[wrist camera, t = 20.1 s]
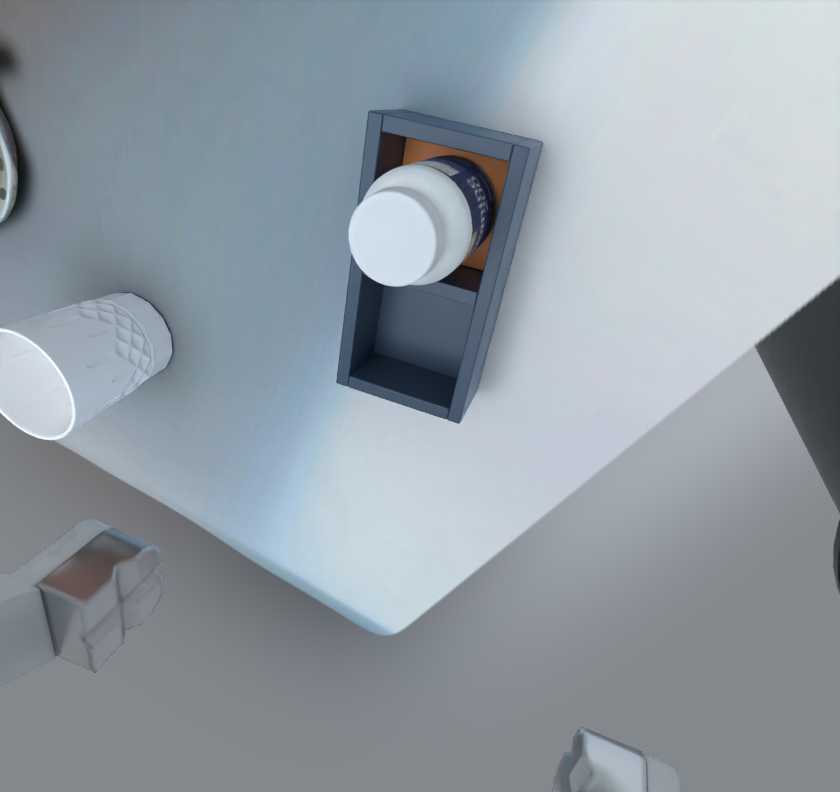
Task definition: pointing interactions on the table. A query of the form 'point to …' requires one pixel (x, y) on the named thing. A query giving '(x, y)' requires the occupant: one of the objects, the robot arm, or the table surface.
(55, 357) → the white cup
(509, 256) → the divided storage box
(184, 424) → the table surface
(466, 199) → the pill bottle
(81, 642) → the robot arm
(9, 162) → the avocado toast plate
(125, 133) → the table surface
